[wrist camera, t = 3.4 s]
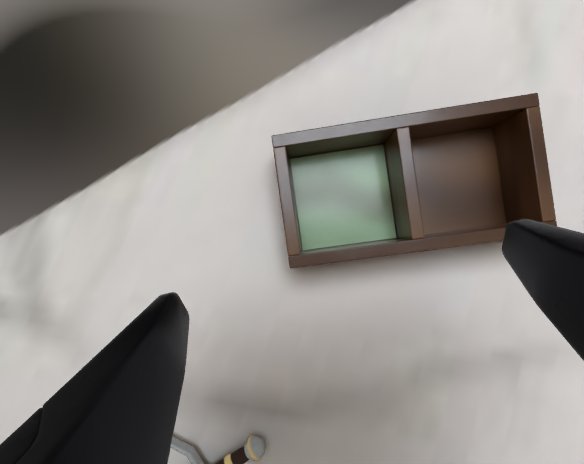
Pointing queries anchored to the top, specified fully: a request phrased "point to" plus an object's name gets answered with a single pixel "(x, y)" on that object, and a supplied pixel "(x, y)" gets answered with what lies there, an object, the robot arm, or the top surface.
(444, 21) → the top surface
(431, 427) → the top surface
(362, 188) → the divided wooden tray
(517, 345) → the top surface
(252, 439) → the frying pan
